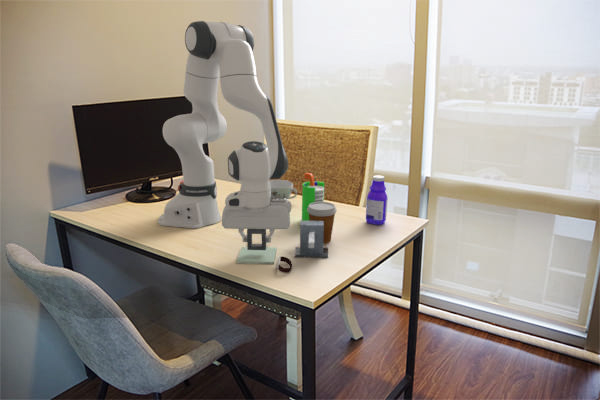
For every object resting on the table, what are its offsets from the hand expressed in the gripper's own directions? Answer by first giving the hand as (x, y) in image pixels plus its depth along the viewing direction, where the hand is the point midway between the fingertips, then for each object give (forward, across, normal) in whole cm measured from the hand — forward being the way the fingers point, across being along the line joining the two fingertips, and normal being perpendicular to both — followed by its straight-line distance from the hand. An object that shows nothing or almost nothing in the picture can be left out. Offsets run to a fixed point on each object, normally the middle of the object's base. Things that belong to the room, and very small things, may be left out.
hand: (256, 241), depth 144 cm
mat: (+5, 0, 0) cm, 5 cm away
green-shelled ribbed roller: (+5, -16, -31) cm, 36 cm away
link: (+2, 0, 0) cm, 2 cm away
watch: (+5, -9, +8) cm, 13 cm away
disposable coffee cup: (+5, -20, -13) cm, 24 cm away
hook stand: (+5, -17, +2) cm, 17 cm away
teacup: (+5, -3, -54) cm, 55 cm away
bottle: (+5, -40, -31) cm, 51 cm away
